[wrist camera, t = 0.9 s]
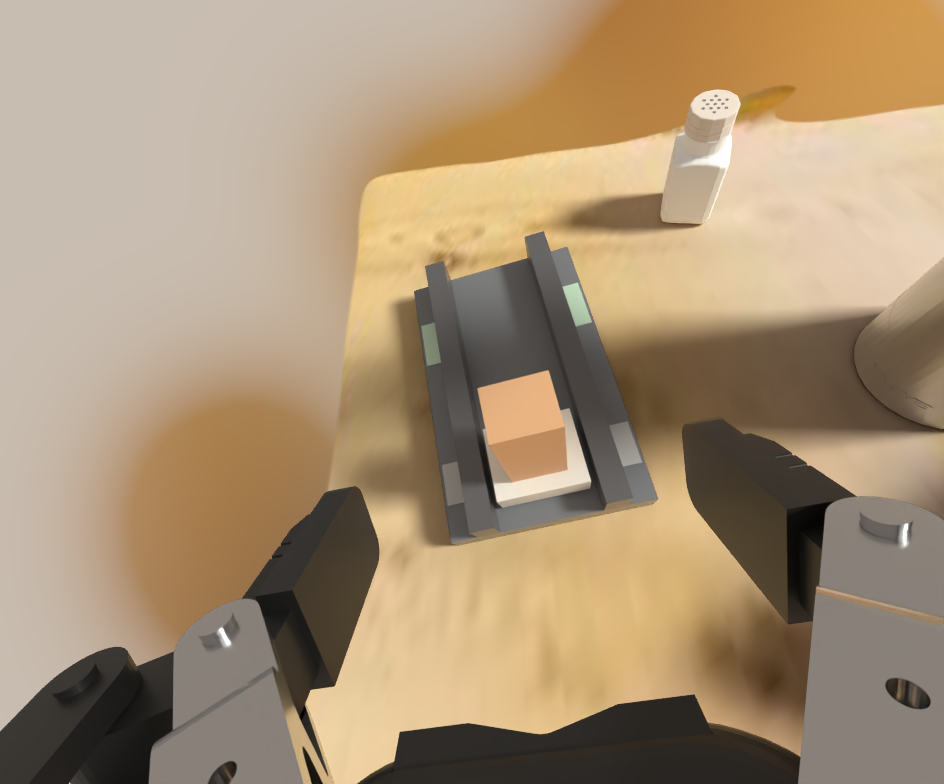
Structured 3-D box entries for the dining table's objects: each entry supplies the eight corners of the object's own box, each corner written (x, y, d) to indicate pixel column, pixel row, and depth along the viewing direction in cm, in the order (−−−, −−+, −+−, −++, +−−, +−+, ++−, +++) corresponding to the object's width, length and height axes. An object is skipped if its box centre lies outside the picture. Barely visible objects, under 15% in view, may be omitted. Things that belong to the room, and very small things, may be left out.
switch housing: (653, 503, 30) (665, 491, 26) (457, 545, 31) (440, 539, 27) (567, 262, 39) (566, 224, 35) (421, 303, 41) (404, 272, 37)
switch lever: (590, 488, 29) (597, 441, 19) (502, 507, 30) (467, 471, 20) (569, 419, 31) (567, 346, 21) (488, 439, 32) (451, 376, 22)
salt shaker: (663, 191, 40) (686, 86, 32) (710, 192, 39) (748, 83, 31) (658, 225, 39) (681, 124, 30) (707, 227, 38) (745, 123, 29)
